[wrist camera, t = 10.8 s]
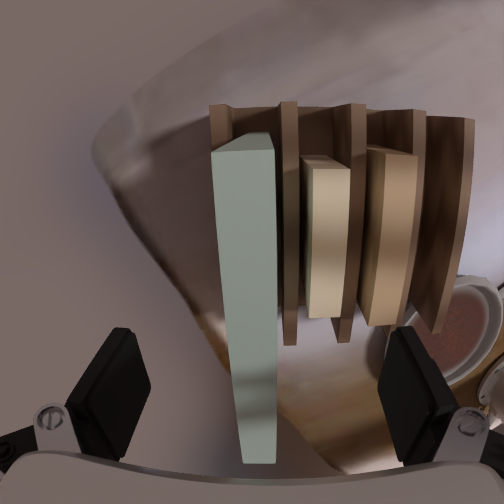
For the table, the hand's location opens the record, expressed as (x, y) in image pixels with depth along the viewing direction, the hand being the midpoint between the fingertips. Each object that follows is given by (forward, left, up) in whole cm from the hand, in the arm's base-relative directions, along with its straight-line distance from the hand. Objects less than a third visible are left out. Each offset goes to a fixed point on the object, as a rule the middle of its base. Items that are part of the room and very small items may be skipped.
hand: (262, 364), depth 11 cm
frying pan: (-12, -26, -19) cm, 34 cm away
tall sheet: (0, 0, -18) cm, 18 cm away
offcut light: (0, -4, -18) cm, 18 cm away
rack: (0, -6, -19) cm, 20 cm away
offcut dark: (0, -8, -18) cm, 20 cm away
